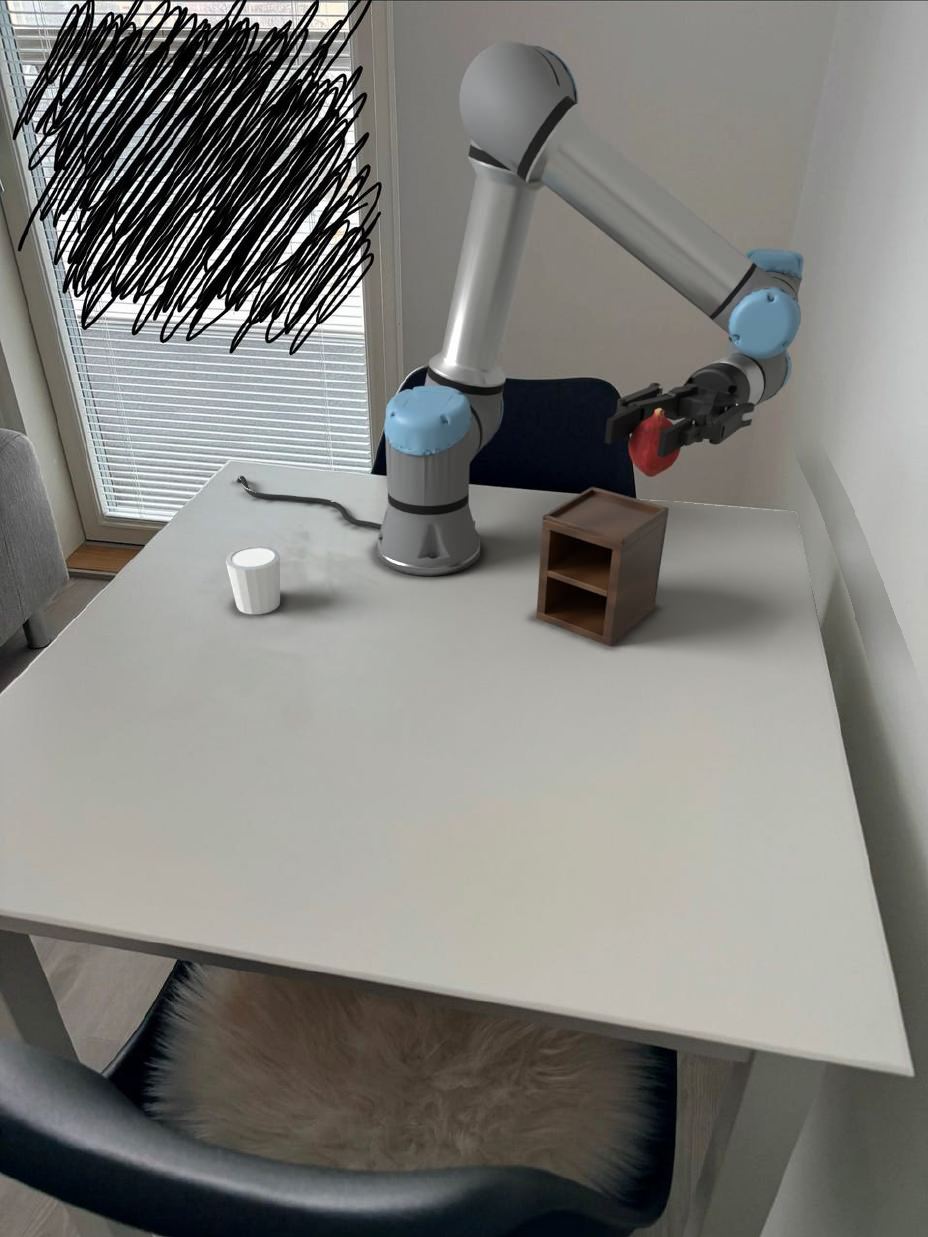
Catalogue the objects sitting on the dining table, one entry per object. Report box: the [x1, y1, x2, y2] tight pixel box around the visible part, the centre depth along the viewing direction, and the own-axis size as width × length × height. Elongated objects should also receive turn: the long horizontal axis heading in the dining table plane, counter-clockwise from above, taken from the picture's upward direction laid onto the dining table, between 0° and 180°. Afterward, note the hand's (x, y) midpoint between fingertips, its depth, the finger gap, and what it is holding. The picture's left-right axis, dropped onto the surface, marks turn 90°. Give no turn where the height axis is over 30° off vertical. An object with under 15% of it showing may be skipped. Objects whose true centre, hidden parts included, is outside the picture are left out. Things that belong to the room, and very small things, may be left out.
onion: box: [627, 408, 682, 478], centre depth 99 cm, size 6×6×8 cm
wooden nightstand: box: [535, 486, 670, 647], centre depth 112 cm, size 11×12×15 cm
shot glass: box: [225, 545, 281, 616], centre depth 115 cm, size 7×7×7 cm
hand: (635, 438), depth 95 cm, fingers closed on onion, 6 cm apart
